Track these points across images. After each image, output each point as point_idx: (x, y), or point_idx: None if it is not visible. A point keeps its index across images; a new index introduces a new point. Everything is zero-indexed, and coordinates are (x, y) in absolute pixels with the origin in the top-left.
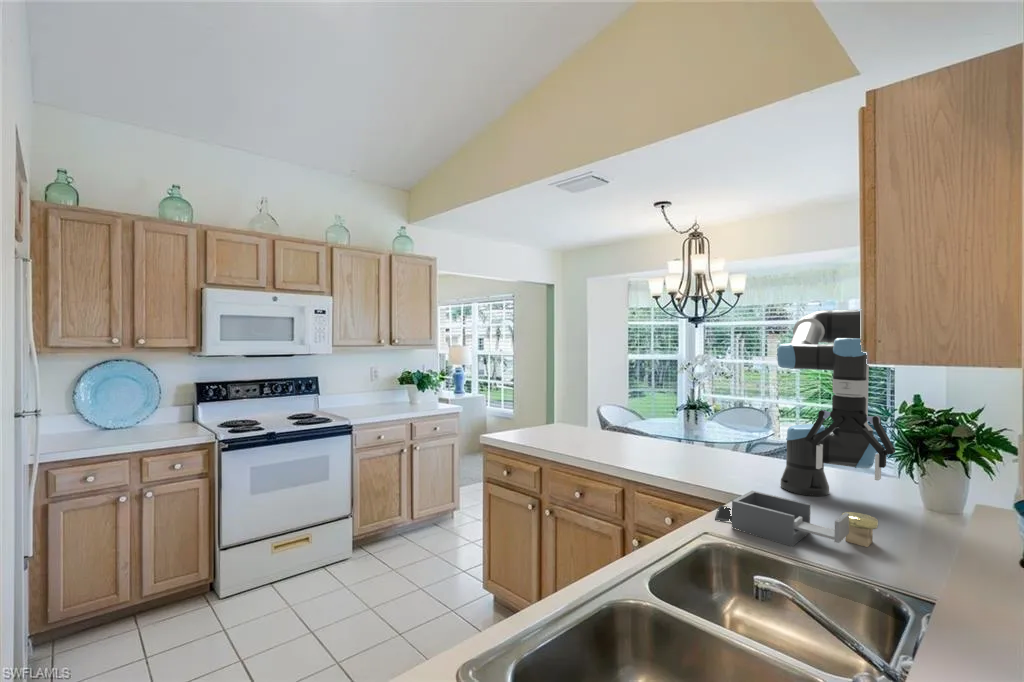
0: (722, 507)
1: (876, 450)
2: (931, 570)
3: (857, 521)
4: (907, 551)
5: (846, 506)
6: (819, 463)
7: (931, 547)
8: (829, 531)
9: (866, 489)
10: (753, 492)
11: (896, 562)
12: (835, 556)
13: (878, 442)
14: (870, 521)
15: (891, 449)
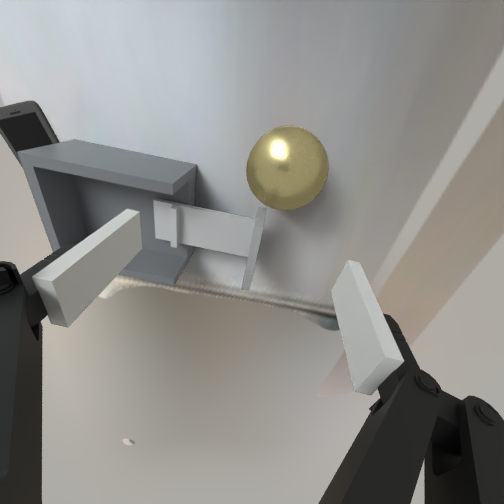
0: (4, 127)
1: (368, 420)
2: (389, 228)
3: (281, 207)
4: (375, 153)
5: None
6: (128, 256)
7: (449, 78)
8: (234, 233)
9: None
10: (32, 169)
11: (339, 226)
12: None
13: (416, 460)
14: (309, 189)
15: (457, 464)
